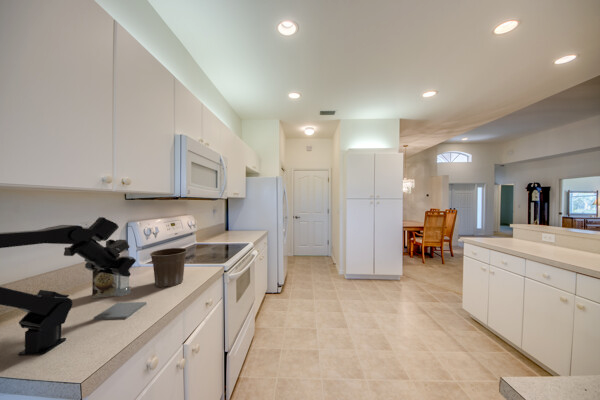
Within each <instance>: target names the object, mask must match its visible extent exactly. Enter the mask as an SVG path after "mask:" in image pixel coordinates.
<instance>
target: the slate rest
mask: <svg viewBox="0 0 600 400" xmlns="http://www.w3.org/2000/svg"><path fill="white" fill-rule="evenodd" d="M146 305H147V301H133V302H130V301H129V302H127V301H126V302H116V303H115V304H113V305H112V306H109V307H108V308H106V309H105V310H103V311H102V312H100V313H98V314H97V315H95V316H94V317H93V321H95V320H121V319H122V320H123V319H128V318H130V317H131V316H132V315H134V313H136V312H137V311H139V310H140V309H141V308H143V307H144V306H146Z"/></svg>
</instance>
